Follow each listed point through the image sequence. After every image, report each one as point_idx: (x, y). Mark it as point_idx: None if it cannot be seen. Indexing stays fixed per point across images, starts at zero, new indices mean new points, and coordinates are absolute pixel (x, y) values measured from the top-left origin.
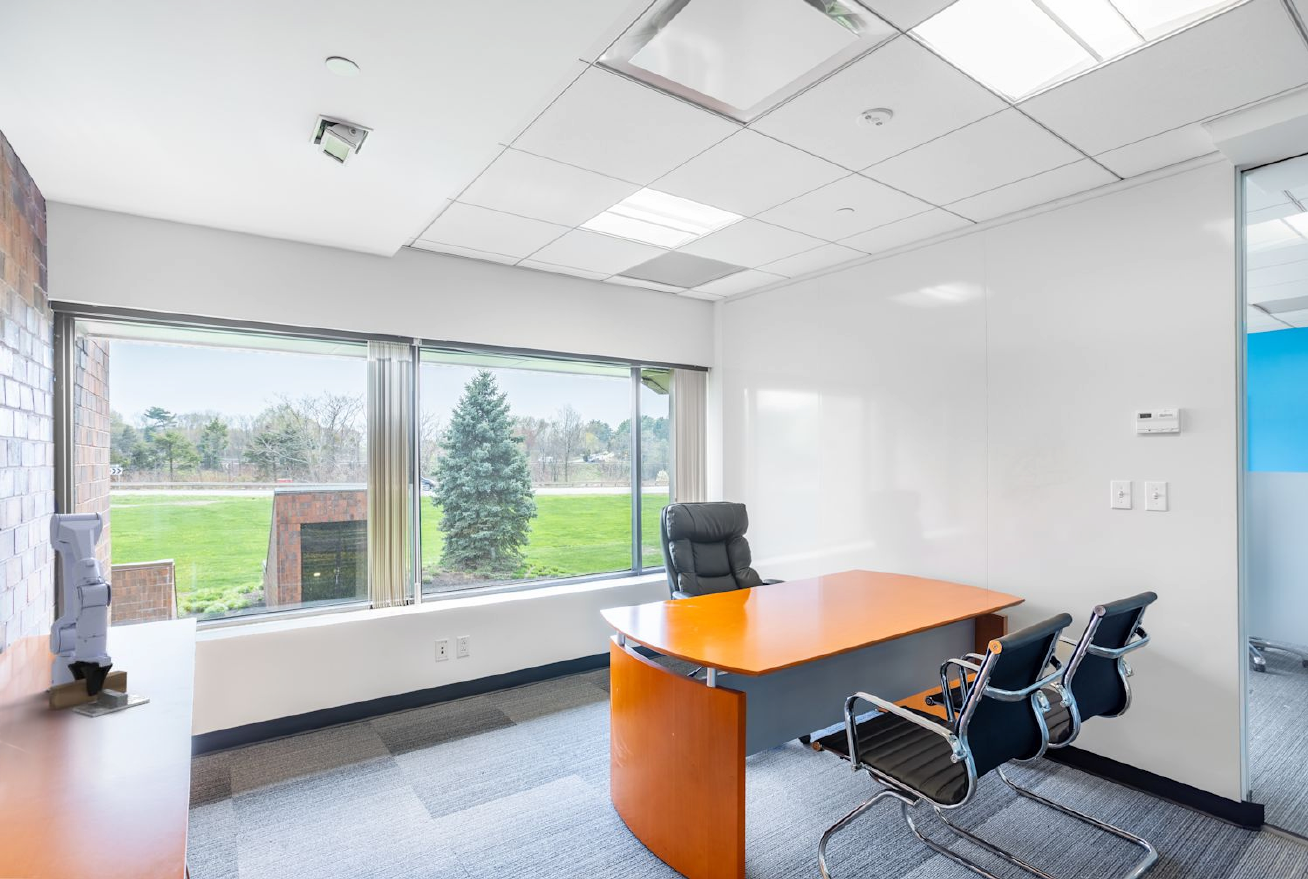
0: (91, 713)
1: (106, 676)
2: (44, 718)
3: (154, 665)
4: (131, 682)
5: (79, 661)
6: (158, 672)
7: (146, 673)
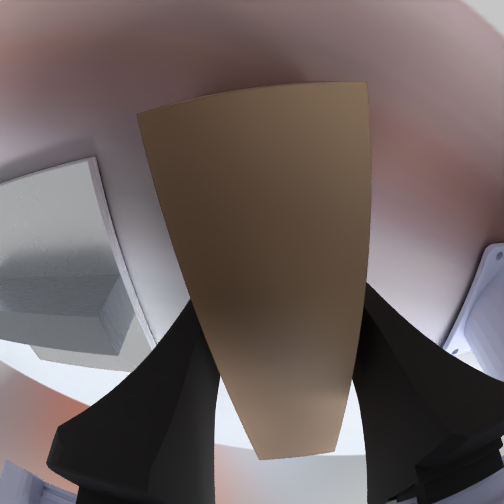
0: None
1: (257, 427)
2: (98, 21)
3: None
4: None
5: (449, 483)
6: None
7: None
